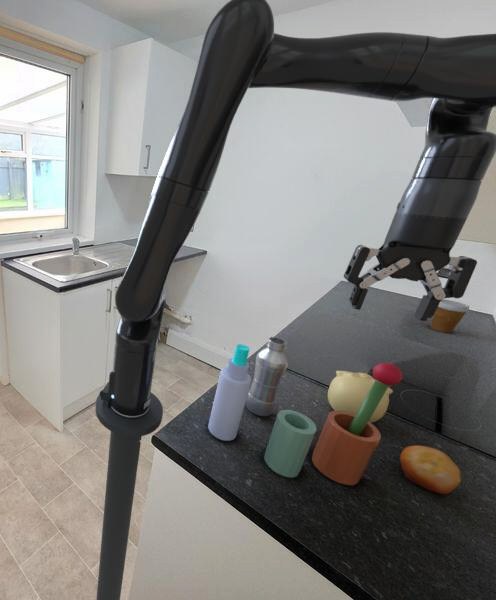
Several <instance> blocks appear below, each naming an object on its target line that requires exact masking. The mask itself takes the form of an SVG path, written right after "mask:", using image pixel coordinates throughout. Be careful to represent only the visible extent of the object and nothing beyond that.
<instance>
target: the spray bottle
mask: <svg viewBox="0 0 496 600" xmlns="http://www.w3.org/2000/svg"><path fill="white" fill-rule="evenodd" d="M249 353H250V347H249V346H247V345H246V344H236V346H235V349H234V353H233V357H231V358H229V360H228V363H227V366H226V367H223V368H221V369H220V372H219V377H218V382H217V386H216V390H215V394H214V399H213V403H212V407H211V412H210V415H209V420H208V426H207V427H208V431H209V433H210V434H211V435H212V436H213V437H215V438H216V439H217V440H220V441H224V442H229V441H233V440H235V439H236V437H237V434H238V432H239V431H238V430H239V427H240V425H241V420H242V417H243V413H244V410H245V407H246V404H245V402H246V398H247V395H248V391H249V390H250V387H251V384H252V377H251V375H250V374H249V369H250V364H249V362H248V357H249Z"/></svg>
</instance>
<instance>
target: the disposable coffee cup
mask: <svg viewBox="0 0 496 600" xmlns="http://www.w3.org/2000/svg"><path fill="white" fill-rule="evenodd" d="M468 312H470V305H469V304H466V303H462V302H458V301H456V300H449V299H443V300H441V301H440V303H439V305H438V307H437V309H436V311H435V313H434V315H433V316H432V320H431V323H430V328H431V329H432V330H435V331H437V332H441V333H448V334H452V332H453V331H454V329H455V328H456V327H457V326H458V324H459V323H460V322H461V321H462V320H463V318H464V316H465V315H466V314H467V313H468Z"/></svg>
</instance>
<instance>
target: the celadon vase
mask: <svg viewBox="0 0 496 600" xmlns="http://www.w3.org/2000/svg"><path fill="white" fill-rule="evenodd" d="M316 432H317V425H316V424H315V422H314V420H312V419H311V418H310V417H308V416H307V415H305V414H303V413H301V412H299V411H295V410H292V409H282V410H280V411H278V412H277V415H276V418H275V421H274V424H273V427H272V430H271V433H270V437H269V439H268V442H267V445H266V448H265V451H264V456H263V458H264V462H265V464H266V465H267V466H268V468H270V469H271V470H272V471H273V472H274V473H276V474H277V475H280V476H282V477H286V478H297V477H298V476H299V475H300V473H301V470H302V469H303V466H304V463H305V461H306V458H307V455H308V453H309V451H310V447H311V445H312V443H313V440H314V438H315V436H316Z"/></svg>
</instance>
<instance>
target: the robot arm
mask: <svg viewBox="0 0 496 600" xmlns="http://www.w3.org/2000/svg"><path fill="white" fill-rule="evenodd" d="M261 88H262V89H264V88H266V89H267V88H271V89H272V88H273V89H294V90H295V89H297V90H308V91H317V92H324V93H325V92H326V93H333V94H338V95H339V94H340V95H346V96H353V97H359V98H367V99H374V100H382V101H388V102H398V103H399V102H401V103H402V102H410V101H415V100H421V99H431V101H430V104H429V109H428V114H427V121H426V127H425V133H424V147H423V149H422V152H420V153H421V154H420V156H419V157H418V161H417V162H416V165H415V167H414V170H413V173H412V175H411V178H410V180H409V182H408V184H407V186H406V188H405V189H404V191H403V193H402V195H401V198H400V200H399V202H398V203H397V205H396V210H395V213H394V215H393V217H392V221H391V223H390V224H389V225H390V226H389V228H388V230H387V233H386V235H385V238H384V242H383V243H382V245H381V246H380V247H379V248H375V247H368V246H366V245H363V244H358V245H357V246H356V247H355V249H354V251H353V254H352V256H351V258H350V260H349V262H348V265H347V267H346V269H345V271H344V274H343V278H344V279H345V280H346V281H347V282H348V283H349V284H353V288H352V291H351V294H350V297H349V299H348V302H349V304H350V305H351V308H353V309H354V310H361V309H362V307H363V304H364V302H365V299H366V297H367V294H368V291H369V289H368V288H369V287H371V286H372V285H374V284H375V283H377V282H381V281H383V280H384V279H386V278H388V277H389V278H391V279H396V280H408V281H410V282H411V281H412V282H420V283H421V284H422V286H423V288H424V290H425V292H426V294H423V296H422V297H421V299H420V301H419V304H418V306H417V308H416V310H415V313H414V318H415V319H417V320H418V321H421V322H422V321H423V322H426V321H427V320H428V319H431V318H433V316H434V313H435V311H436V309H437V307H438V305H439V303H440V301H441V300H446V299H452V298H454V299H461V298H463V297H464V295H465V292H466V290H467V288H468V285H469V283H470V281H471V278H472V277H473V274H474V272H475V270H476V267H477V265H478V261H477V259H474V258H471V257H469V256H465V255H460V256H451V255H450V254H451V250H452V249H453V248H454V247H455V244H456V242H457V240H458V238H459V236H460V235H461V231H462V230H463V228H464V226H465V223H466V222H467V220H468V218H469V215H470V213H471V211H472V209H473V207H474V205H475V203H476V201H477V198H478V195H479V191H480V188H481V185H482V182H483V180H484V178H485V175H486V174H487V171H488V169H489V168H490V165H491V163H492V161H493V159H494V157H495V154H496V133H494V132H492V131H489V130H488V127H489V126H488V125H489V121H490V116H491V113H492V110H493V108H496V33H486V34H485V33H484V34H483V33H482V34H469V35H461V36H460V35H459V36H450V37H439V36H433V35H432V36H431V35H424V34H414V33H405V32H404V33H403V32H393V31H392V32H391V31H390V32H389V31H377V32H375V31H374V32H360V33H351V34H344V35H334V36H328V37H306V38H305V37H295V36H287V35H283V34H279V33H276V32H275V18H274V14H273V11H272V7H271V6H270V4H269V2H268V1H267V0H229V1H228V2H226V3H225V4H224V5H223V6H222V7H221V8H220V9H219V10H218V11H217V13H216V14H215V15H214V17H213V18H212V20H211V22H210V23H209V25H208V27H207V29H206V31H205V34H204V38H203V42H202V47H201V50H200V54H199V59H198V62H197V66H196V71H195V75H194V78H193V82H192V86H191V89H190V93H189V96H188V100H187V103H186V106H185V107H184V108H185V109H184V111H183V114H182V116H181V119H180V121H179V123H178V125H177V128H176V130H175V131H174V134H173V137H172V139H171V141H170V144H169V146H168V149H167V151H166V153H165V156H164V159H163V161H162V163H161V166H160V169H159V171H158V174H157V177H156V179H155V182H154V185H153V188H152V191H151V194H150V197H149V201H148V204H147V207H146V210H145V214H144V217H143V220H142V223H141V227H140V231H139V234H138V237H137V242H136V245H135V248H134V251H133V254H132V256H131V259H130V261H129V263H128V265H127V268H126V270H125V272H124V274H123V275H122V278H121V280H120V282H119V284H118V286H117V287H116V290H115V294H114V301H115V302H114V304H115V308H116V310H117V312H118V314H119V315H120V318H119V321H118V325H117V326H116V330H115V335H114V338H115V339H114V351H113V361H112V362H113V363H112V369H111V370H110V372H109V377H108V382H107V383H106V384H105V386H104V387H103V389H102V390H100V391H99V394H100V397H101V399H102V400H105V401H107V407H109V408H111V409H112V411H113V412H114V413H116V414H117V415H119V416H121V417H123V418H127V419H137V418H141V417H143V416H145V415H146V414H147V412H148V410H149V404H150V400H151V398H150V393H152V384H153V377H154V369H155V364H156V363H155V362H156V357H157V348H158V343H159V337H160V333H161V328H162V322H163V316H164V311H165V304H166V296H167V295H166V294H167V290H166V282H167V279H168V276H169V272H170V270H171V267H172V265H173V263H174V260H175V259H176V257H177V256H178V253H179V252H180V250H181V248H182V247H183V246H184V243H185V242H186V240H187V239H188V238H189V235H190V233H191V232H192V230H193V228H194V226H195V224H196V223H197V220H198V218H199V216H200V214H201V213H202V209H203V207H204V206H205V202H206V201H207V198H208V195H209V192H210V191H211V189H212V186H213V183H214V180H215V177H216V174H217V172H218V170H219V169H218V168H219V166H220V163H221V159H222V156H223V153H224V149H225V146H226V142H227V138H228V135H229V132H230V129H231V125H232V124H233V121H234V118H235V116H236V114H237V112H238V109H239V107H240V105H241V103H242V101H243V99H244V97H245V95H246V93H247V91H248V89H261ZM487 130H488V131H487ZM373 257H376V260H377V261H378V263H377V264H375V265H374V266H372V267H370V268H368V270H367V271H366V272H365V273H363V274H362V275H360V274H361V272H362V270H363V267H364V265H365V263H366V262H368V261H370V260H372V258H373ZM447 266H448V270H450V272H449V275H448V278H447V280H446V282H445V285H444V287H443V286H442V282H441V279H440V278H439V276H438V273H437V272H438V271H440V270H442V269H443V268H445V267H447Z"/></svg>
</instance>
